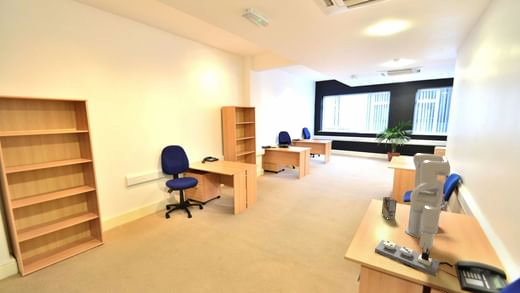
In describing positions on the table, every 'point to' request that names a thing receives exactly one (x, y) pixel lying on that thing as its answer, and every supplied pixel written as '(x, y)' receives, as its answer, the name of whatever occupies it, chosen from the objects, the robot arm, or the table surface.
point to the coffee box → (389, 207)
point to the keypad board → (408, 258)
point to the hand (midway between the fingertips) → (425, 258)
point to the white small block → (406, 251)
